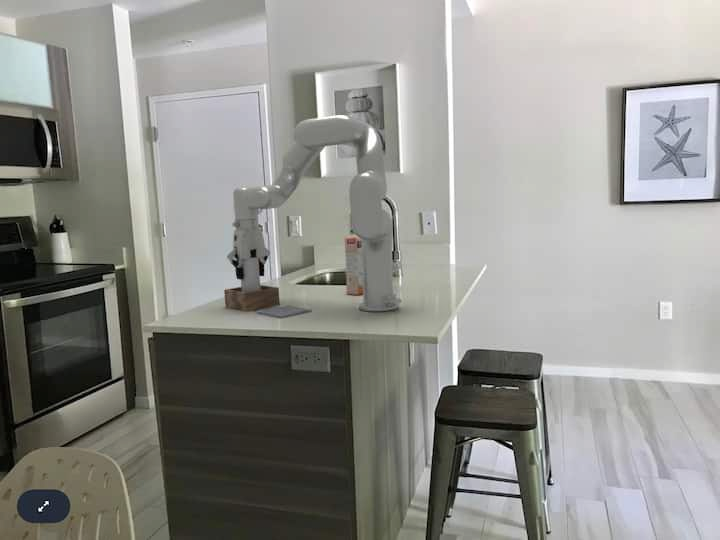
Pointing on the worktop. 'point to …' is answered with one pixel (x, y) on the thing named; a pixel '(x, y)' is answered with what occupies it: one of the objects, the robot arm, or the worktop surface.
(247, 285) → the travel mug
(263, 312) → the mat
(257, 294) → the crate
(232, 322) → the worktop surface
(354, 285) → the cracker box
